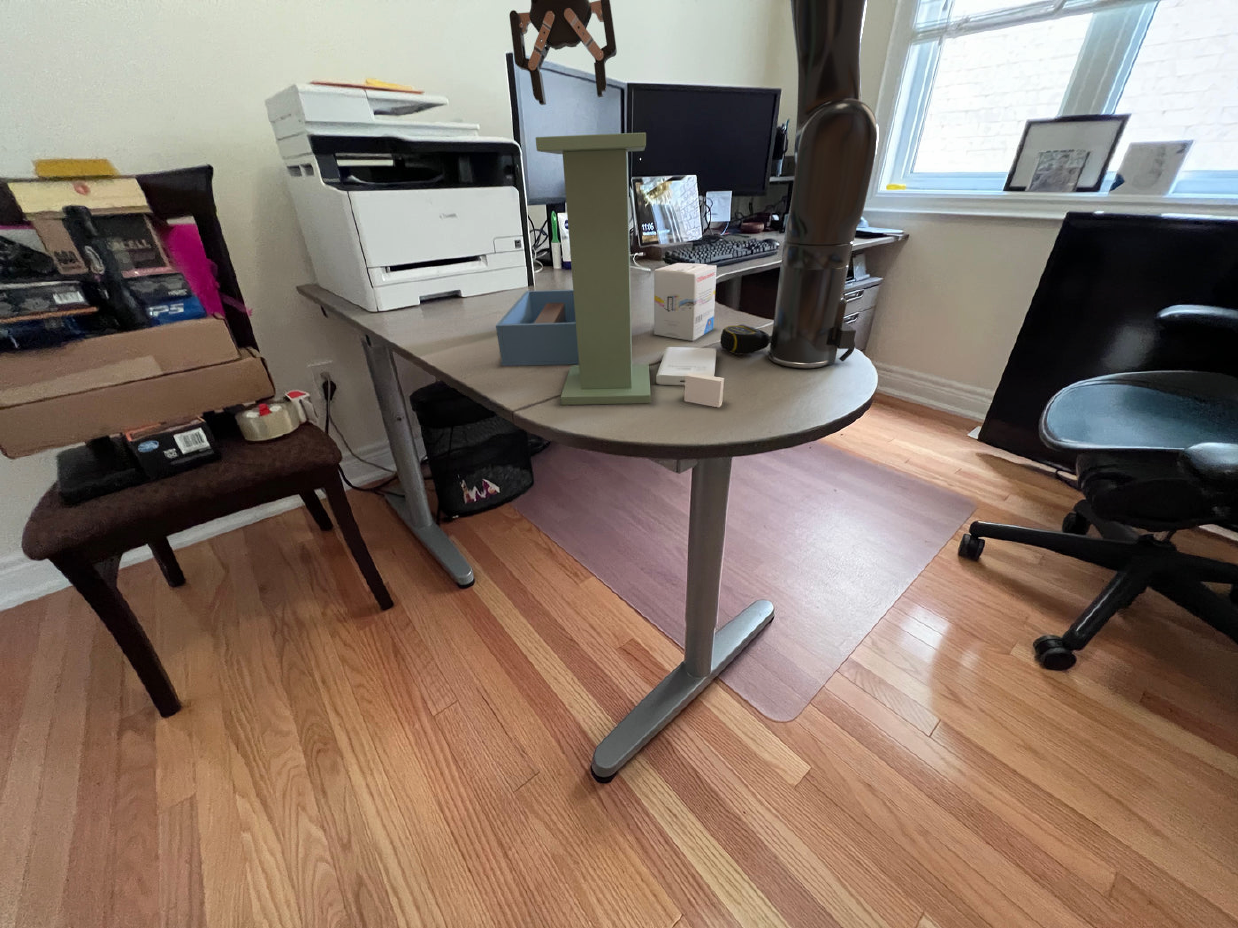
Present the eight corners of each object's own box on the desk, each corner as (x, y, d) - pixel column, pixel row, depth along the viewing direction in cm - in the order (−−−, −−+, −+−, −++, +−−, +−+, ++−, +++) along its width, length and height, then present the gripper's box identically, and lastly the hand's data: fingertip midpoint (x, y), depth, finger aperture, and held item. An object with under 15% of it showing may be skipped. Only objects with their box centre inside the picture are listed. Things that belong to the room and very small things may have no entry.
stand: (648, 366, 77) (647, 139, 62) (650, 409, 64) (651, 132, 48) (572, 368, 78) (553, 143, 62) (559, 411, 64) (530, 137, 49)
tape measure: (770, 353, 81) (773, 330, 79) (737, 361, 78) (740, 338, 76) (742, 342, 86) (744, 321, 84) (711, 349, 83) (712, 327, 81)
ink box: (675, 323, 98) (677, 261, 91) (714, 329, 93) (718, 264, 87) (652, 335, 92) (652, 268, 86) (692, 342, 87) (695, 272, 81)
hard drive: (715, 358, 80) (713, 387, 70) (665, 356, 81) (655, 384, 71) (716, 348, 79) (714, 376, 69) (666, 346, 81) (655, 373, 70)
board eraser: (566, 323, 99) (564, 302, 96) (551, 356, 81) (548, 332, 79) (548, 323, 99) (546, 303, 97) (530, 356, 82) (527, 332, 80)
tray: (595, 322, 100) (594, 289, 97) (585, 364, 79) (582, 323, 76) (530, 324, 101) (525, 291, 97) (502, 366, 80) (495, 325, 76)
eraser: (719, 407, 64) (721, 381, 62) (684, 401, 66) (685, 375, 64) (722, 404, 65) (724, 377, 63) (687, 398, 67) (688, 372, 65)
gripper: (491, -57, 61) (518, 103, 69) (604, -76, 60) (618, 89, 67) (506, -33, 67) (529, 110, 75) (608, -50, 66) (621, 97, 74)
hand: (571, 100), depth 71 cm, fingers open, 8 cm apart
